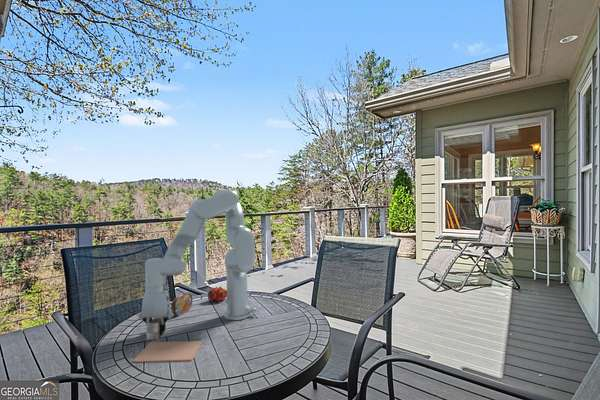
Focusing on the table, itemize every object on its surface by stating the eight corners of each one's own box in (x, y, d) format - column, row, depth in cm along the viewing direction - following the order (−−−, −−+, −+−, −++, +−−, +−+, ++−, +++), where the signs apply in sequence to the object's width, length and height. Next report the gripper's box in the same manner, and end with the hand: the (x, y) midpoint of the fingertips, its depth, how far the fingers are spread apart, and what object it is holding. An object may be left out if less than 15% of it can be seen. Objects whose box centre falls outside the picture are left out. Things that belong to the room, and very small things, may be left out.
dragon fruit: (205, 306, 169) (226, 304, 176) (212, 299, 164) (233, 298, 171) (203, 291, 173) (223, 289, 181) (209, 284, 168) (230, 283, 176)
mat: (202, 342, 124) (202, 340, 124) (191, 360, 110) (191, 359, 110) (150, 343, 123) (150, 342, 123) (132, 362, 109) (132, 361, 109)
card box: (165, 329, 135) (165, 315, 135) (156, 339, 126) (156, 324, 126) (156, 330, 135) (155, 316, 135) (146, 339, 126) (146, 324, 126)
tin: (175, 318, 148) (175, 300, 148) (169, 318, 149) (169, 300, 149) (193, 307, 163) (192, 290, 163) (187, 306, 164) (187, 290, 164)
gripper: (179, 285, 135) (180, 328, 135) (139, 286, 134) (140, 329, 134) (172, 291, 127) (173, 336, 127) (130, 292, 127) (131, 337, 127)
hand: (156, 332), depth 131 cm, fingers closed on card box, 4 cm apart
